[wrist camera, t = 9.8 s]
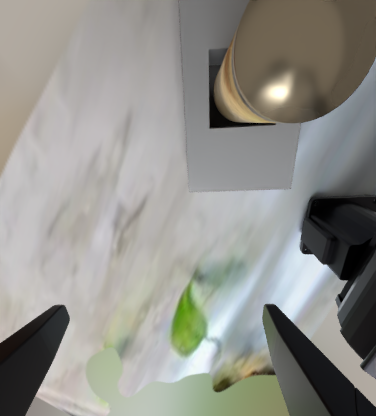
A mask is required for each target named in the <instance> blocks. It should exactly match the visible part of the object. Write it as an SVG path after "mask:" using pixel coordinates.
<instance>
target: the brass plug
mask: <svg viewBox="0 0 376 416" xmlns="http://www.w3.org/2000/svg"><path fill="white" fill-rule="evenodd" d="M375 57H376V0H250V1H249V3H248V4H247V6H246V9H245V11H244V13H243V16H242V18H241V20H240V23H239V25H238V27H237V30H236V32H235V34H234V37H233V39H232V41H231V44H230V46H229V48H228V51H227V53H226V55H225V58H224V60H223V62H222V65H221V67H220V69H219V72H218V74H217V76H216V79H215V82H214V88H213V95H214V101H215V104H216V107H217V109H218V110H219V112H220V113H221V114H222V115H223V116H224V117H225V118H227V119H229V120H231V121H234V122H247V123H302V122H307V121H311V120H314V119H317V118H319V117H322V116H324V115H326V114H327V113H329V112H331V111H332V110H334V109H335V108H337V107H338V106H339V105H341V104H342V103H343V102H344V101H346V100H347V99H348V98H349V97H350V96H351V95H352V94H353V93H354V91H355V90H356V89H357V88H358V86H359V85H360V84H361V83H362V81H363V80H364V78H365V77H366V75H367V73H368V72H369V70H370V68H371V66H372V64H373V62H374V60H375Z"/></svg>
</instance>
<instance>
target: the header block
mask: <svg viewBox="0 0 376 416" xmlns="http://www.w3.org/2000/svg"><path fill="white" fill-rule="evenodd" d="M249 1H250V0H179V17H180V36H181V55H182V73H183V92H184V111H185V130H186V148H187V167H188V186H189V192H216V191H243V190H271V189H291V184H292V178H293V171H294V165H295V158H296V152H297V145H298V139H299V132H300V126H301V123H259V125H240V126H222V127H209V66H210V65H222V62H223V60H224V58H225V55H226V53H227V51H228V48H229V46H230V44H231V41H232V39H233V37H234V34H235V32H236V30H237V27H238V25H239V23H240V20H241V18H242V16H243V13H244V11H245V9H246V6H247V4H248V3H249Z"/></svg>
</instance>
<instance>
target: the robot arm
mask: <svg viewBox="0 0 376 416" xmlns="http://www.w3.org/2000/svg"><path fill="white" fill-rule="evenodd" d="M374 200H375V201H374ZM315 201H317V203H316V204H314V202H315ZM373 201H374V202H373ZM301 240H302V241H301V247H300V250H301V252H302V253H303V254H314V255H315V256H316V257H317V259H318V260H319V261H320V262H321V263H322V264H323V265H325V264H327V265H328V267H329V268H330V269H331V270H332V271H333V272H334V273H335V274H336V275H337V276H338V278H339V279H340V280H348V281H347V283H346V285H345V286H344V288H343V290H342V292H341V293H340V294H338V295H337V297H336V299H335V300H336V303H337V305H338V314H337V316H338V319H339V322H340V325H341V327H342V328H341V330H340V332H341V334H342V335H343V337H344V338H345V340H346V341H347V343H348V344H349V345H350V347H351V348H352V349H353V350H354V351H355V352H356V353H357V354H358V355H359V356H360V357H361V358H362V359H363V360H364V361H363V362H362V363H361V365H360V366H361V368H362V369H363V370H364V371H365V372H367V373H368V374H370V375H371V376H372V377H374V378H375V379H376V195H365V196H336V197H314V198H312V199H311V200H310V201H309V206H308V211H307V216H306V218H305V219H304V224H303V229H302V235H301ZM305 249H306V250H305ZM262 318H263V325H264V329H265V334H266V338H267V343H268V347H269V351H270V356H271V360H272V363H273V367H274V370H275V373H276V376H277V379H278V382H279V385H280V388H281V391H282V394H283V397H284V400H285V403H286V406H287V409H288V412H289V415H290V416H376V407H375V406H374V405H373V404H372V403H371V402H370V401H369V400H368V399H367V398H366V397H365V396H364V395H363V394H362V393H361V392H360V391H359V390H358V389H357V388H355V387H354V385H353V384H352V383H351V382H350V381H349V380H348V379H347V378H346V377H345V376H344V375H343V374H342V373H341V372H340V371H339V370H338V369H337V368H336V367H335V366H334V365H333V363H331V361H330V360H329V359H328V358H327V357H326V356H325V355H324V354H323V353H322V352H321V351H320V350H319V349H318V348H317V347H316V346H315V345H314V344H313V343H312V342H311V341H310V340H309V339H308V338H307V337H306V336H305V335H304V334H303V333H302V332H301V331H300V330H299V329H298V328H297V327H296V326H295V325H294V323H293V322H292V321H291V320H290V319H289V318H288V317H287V316H286V315H285V314H284V313H283V312H282V311H281V310H280V309H279V308H278V307H277V306H276V305H275V304H265V305H264V309H263V317H262ZM69 321H70V317H69V314H68V312H67V309H66V307H65V305H54V306H52V307H51V308H49V309H48V310H47V311H45V312H44V313H42V314H41V315H40V316H38V317H37V318H35V319H34V320H32V321H31V322H30V323H28V324H27V325H25V326H24V327H23V328H21V329H20V330H18V331H17V332H15V333H14V334H13V335H11V336H10V337H8V338H7V339H5V340H4V341H3V342H1V343H0V416H25V415H26V413H27V411H28V409H29V407H30V405H31V403H32V401H33V399H34V397H35V395H36V393H37V391H38V389H39V388H40V386H41V384H42V382H43V380H44V378H45V376H46V374H47V372H48V370H49V368H50V366H51V364H52V362H53V360H54V358H55V355H56V353H57V351H58V348H59V346H60V343H61V341H62V339H63V336H64V334H65V331H66V329H67V326H68V324H69Z"/></svg>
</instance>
